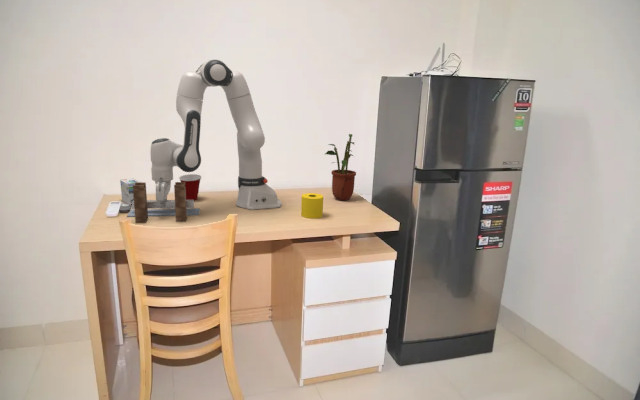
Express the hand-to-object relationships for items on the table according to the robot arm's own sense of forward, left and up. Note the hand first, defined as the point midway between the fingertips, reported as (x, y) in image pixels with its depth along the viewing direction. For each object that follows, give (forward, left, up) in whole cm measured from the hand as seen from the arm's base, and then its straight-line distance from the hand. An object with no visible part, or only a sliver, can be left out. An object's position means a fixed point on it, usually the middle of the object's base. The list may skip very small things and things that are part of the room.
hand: (164, 205), depth 188 cm
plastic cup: (-10, -22, -4) cm, 24 cm away
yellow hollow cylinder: (-66, +9, -4) cm, 67 cm away
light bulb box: (+17, -19, -4) cm, 26 cm away
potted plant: (-86, -17, -4) cm, 88 cm away
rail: (0, 0, -1) cm, 1 cm away
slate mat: (0, 0, -3) cm, 3 cm away
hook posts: (0, +10, -3) cm, 11 cm away
